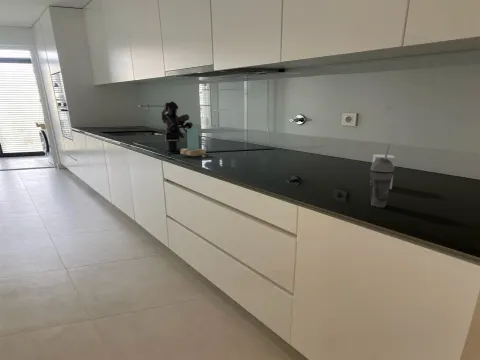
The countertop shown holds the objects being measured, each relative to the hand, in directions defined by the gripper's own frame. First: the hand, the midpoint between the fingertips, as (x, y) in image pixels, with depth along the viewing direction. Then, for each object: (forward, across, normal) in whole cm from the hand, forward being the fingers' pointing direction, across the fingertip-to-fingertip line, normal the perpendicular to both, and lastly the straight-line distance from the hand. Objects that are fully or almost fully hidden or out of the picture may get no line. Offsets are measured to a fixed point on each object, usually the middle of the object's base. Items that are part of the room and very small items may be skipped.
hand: (188, 137), depth 211 cm
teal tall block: (+8, 0, +2) cm, 8 cm away
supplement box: (+92, -28, -77) cm, 123 cm away
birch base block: (+10, 0, +5) cm, 11 cm away
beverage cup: (+94, -53, -79) cm, 134 cm away
